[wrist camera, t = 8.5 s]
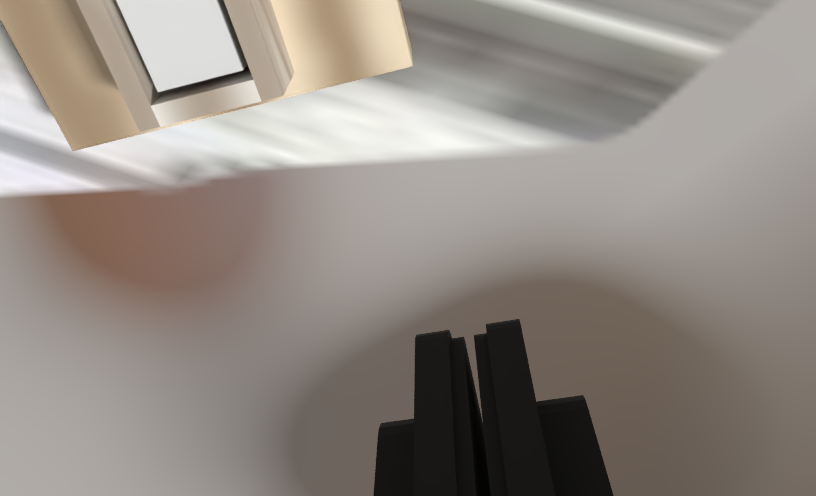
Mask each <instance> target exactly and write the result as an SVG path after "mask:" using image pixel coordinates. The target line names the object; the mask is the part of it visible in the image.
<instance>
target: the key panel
mask: <svg viewBox="0 0 816 496" xmlns="http://www.w3.org/2000/svg"><path fill="white" fill-rule="evenodd" d="M224 3H225V5H226V8H227V11H228V13H229V16H230V19H231V21H232V24H233V27H234V29H235V32H236V35H237V37H238V40H239V43H240V45H241V48H242V51H243V53H244V56H245V59H246V61H247V66H246V67H245V68H244V70H243V71H239V72H235V73H231V74H227V75H223V76H219V77H215V78H211V79H208V80H204V81H200V82H196V83H192V84H188V85H184V86H180V87H177V88H173V89H169V90H165V91H161V92H158V91H157V89H156V87H155V85H154V83H153V80H152V78H151V76H150V74H149V72H148V69H147V67H146V65H145V63H144V61H143V58H142V56H141V54H140V52H139V50H138V47H137V45H136V43H135V41H134V39H133V36H132V34H131V32H130V30H129V28H128V25H127V23H126V21H125V19H124V17H123V14H122V12H121V10H120V8H119V6H118V3H117V1H116V0H0V19H1V21H2V23H3V25H4V27H5V29H6V30H7V32H8V34H9V36H10V38H11V39H12V41H13V43H14V45H15V47H16V49H17V50H18V52H19V54H20V56H21V58H22V60H23V61H24V63H25V65H26V67H27V69H28V70H29V72H30V74H31V76H32V78H33V80H34V81H35V83H36V85H37V87H38V89H39V91H40V92H41V94H42V96H43V98H44V100H45V101H46V103H47V105H48V107H49V109H50V111H51V112H52V114H53V116H54V118H55V120H56V122H57V123H58V125H59V127H60V129H61V131H62V132H63V134H64V136H65V138H66V140H67V142H68V143H69V145H70V147H71V149H72V151H75V150H79V149H83V148H87V147H91V146H95V145H99V144H103V143H107V142H111V141H115V140H119V139H123V138H127V137H131V136H135V135H139V134H143V133H147V132H151V131H155V130H159V129H163V128H167V127H171V126H175V125H179V124H183V123H187V122H191V121H195V120H199V119H203V118H207V117H211V116H215V115H219V114H223V113H227V112H231V111H235V110H239V109H243V108H247V107H251V106H255V105H259V104H263V103H267V102H271V101H275V100H279V99H283V98H287V97H291V96H295V95H299V94H303V93H307V92H311V91H315V90H319V89H323V88H327V87H331V86H335V85H339V84H343V83H347V82H351V81H355V80H359V79H363V78H367V77H371V76H375V75H379V74H383V73H387V72H391V71H395V70H399V69H403V68H407V67H411V66H413V65H412V49H411V44H410V40H409V36H408V32H407V28H406V24H405V20H404V16H403V12H402V7H401V3H400V0H224Z"/></svg>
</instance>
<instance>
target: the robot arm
mask: <svg viewBox="0 0 816 496" xmlns="http://www.w3.org/2000/svg"><path fill="white" fill-rule="evenodd" d="M486 329H487V333H485V334H479V335H474V341H475V350H476V360H477V369H478V379H479V389H480V398H481V408H482V417H483V422H482V418H481V413H480V408H479V404H478V399H477V394H476V390H475V385H474V380H473V376H472V371H471V367H470V362H469V357H468V353H467V348H466V343H465V340H464V337H459V338H452V337H451V333H450V331H449V330H445V331H439V332H432V333H426V334H420V335H416V338H415V395H414V397H415V398H414V419H408V420H401V421H394V422H386V423H381V425H380V427H379V433H378V444H377V457H376V470H375V471H376V472H375V485H374V496H613V493H612V489H611V486H610V482H609V479H608V475H607V472H606V468H605V465H604V461H603V458H602V455H601V451H600V448H599V444H598V441H597V437H596V434H595V431H594V427H593V424H592V420H591V417H590V414H589V410H588V407H587V404H586V400H585V398H584V396H583V395H581V396H574V397H567V398H559V399H552V400H546V401H538V402H536V398H535V393H534V388H533V384H532V379H531V374H530V369H529V364H528V359H527V354H526V349H525V344H524V340H523V335H522V329H521V324H520V320H519V319H516V320H510V321H503V322H497V323H490V324H486Z"/></svg>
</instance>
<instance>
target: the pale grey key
mask: <svg viewBox="0 0 816 496" xmlns="http://www.w3.org/2000/svg"><path fill="white" fill-rule="evenodd" d="M116 1H117V3H118V6H119V8H120V10H121V12H122V14H123V17H124V19H125V21H126V23H127V25H128V28H129V30H130V32H131V34H132V36H133V39H134V41H135V43H136V45H137V47H138V50H139V52H140V54H141V56H142V58H143V61H144V63H145V65H146V67H147V69H148V72H149V74H150V76H151V78H152V80H153V83H154V85H155V87H156V89H157V91H158V92H161V91H165V90H169V89H173V88H177V87H180V86H184V85H188V84H192V83H196V82H200V81H204V80H208V79H211V78H215V77H219V76H223V75H227V74H231V73H235V72H239V71H243V70H244V68H245V67H246V66H247V61H246V59H245V56H244V53H243V51H242V48H241V45H240V43H239V40H238V37H237V35H236V32H235V29H234V27H233V24H232V21H231V19H230V16H229V13H228V11H227V8H226V5H225V3H224V0H116Z"/></svg>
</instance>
